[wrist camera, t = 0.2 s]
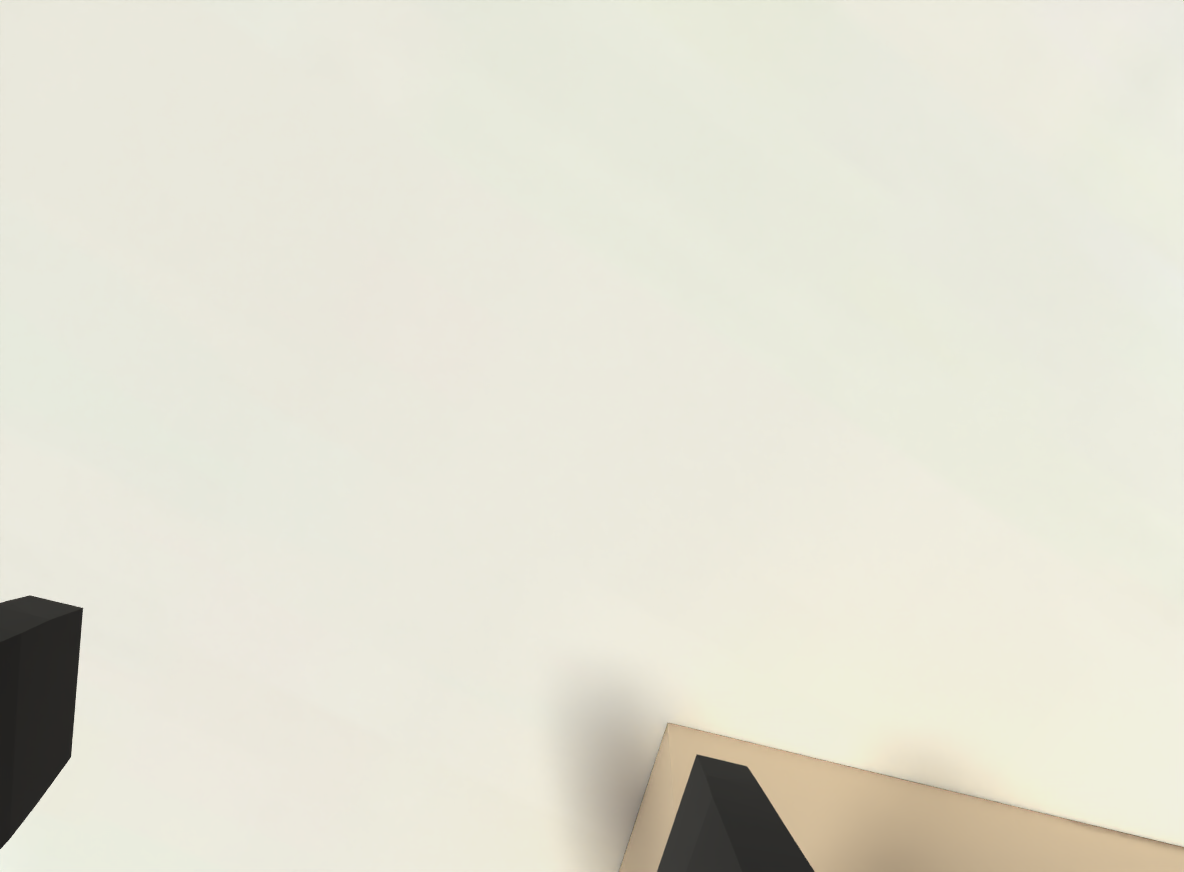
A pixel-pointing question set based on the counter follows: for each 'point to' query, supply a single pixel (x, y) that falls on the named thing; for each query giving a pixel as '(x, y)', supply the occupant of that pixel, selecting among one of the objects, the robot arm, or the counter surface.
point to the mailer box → (885, 819)
